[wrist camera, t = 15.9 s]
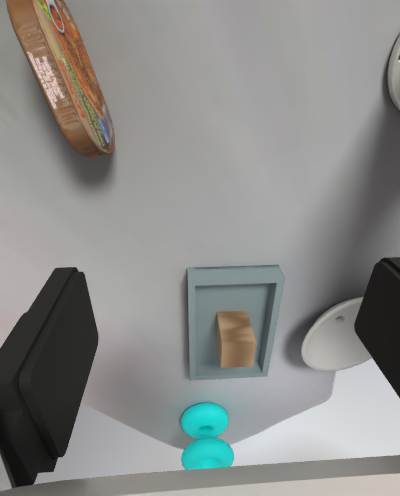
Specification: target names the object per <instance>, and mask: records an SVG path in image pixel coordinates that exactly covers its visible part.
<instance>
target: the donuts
mask: <svg viewBox="0 0 400 496" xmlns="http://www.w3.org/2000/svg"><path fill="white" fill-rule="evenodd" d="M228 420H229V419H228V415H227V413H226V411H225V410H224V409H223V408H222V407H220V406H218V405H216V404H212V403H201V404H197V405H194V406H192V407H190V408H189V409H187V410H186V411H185V412H184V414H183V416H182V419H181V425H182V428H183V430H184V432H185V433H186V434H187V435H189V436H190V437H192V438H195V439H198V440H195V441H193V442H191V443H190V444H189V445H188V446H187V447H186V448H185V449H184V451H183V453H182V458H181V460H182V465H183V467H184V468H185V470H194V469H208V468H221V467H230V466H231V465H232V462H233V460H234V454H233V450H232V448H231V447H230V445H229V444H228V443H226V442H225V441H223V440H221V439H218V438H215V437H217V436H219V435H220V434H222V433H223V432H224V431H225V429H226V428H227V426H228Z"/></svg>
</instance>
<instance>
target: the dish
mask: <svg viewBox="0 0 400 496" xmlns="http://www.w3.org/2000/svg"><path fill="white" fill-rule="evenodd" d="M362 300H363V297H360V298H354V299H350V300H346V301H344V302H341V303H339V304H337V305H335V306H333V307H331V308H330V309H328V310H327V311H326V312H324V313H323V314H322V315H321V316H320V317H319V318H318V319H317V320H316V322H315V323H314V324H313V326H312V327H311V328H310V330H309V331H308V332H307V334H306V336H305V338H304V340H303V342H302V346H301V356H302V359H303V361H304V362H305V363H306V364H307V365H308V366H309V367H311V368H313V369H315V370H319V371H338V370H343V369H347V368H351V367H353V366H356V365H359V364H361V363H363V362H365V361H367V360H369V359H371V358H372V357H371V355H370V354H369V352H368V351H367V349H366V348H365V346H364V345H363V343H362V342H361V340H360V339H359V338H358V336H357V335H356V333H355V329H354V323H355V320H356V317H357V314H358V311H359V309H360V306H361V303H362ZM339 316H340V317H339ZM337 317H339V318H337Z"/></svg>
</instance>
